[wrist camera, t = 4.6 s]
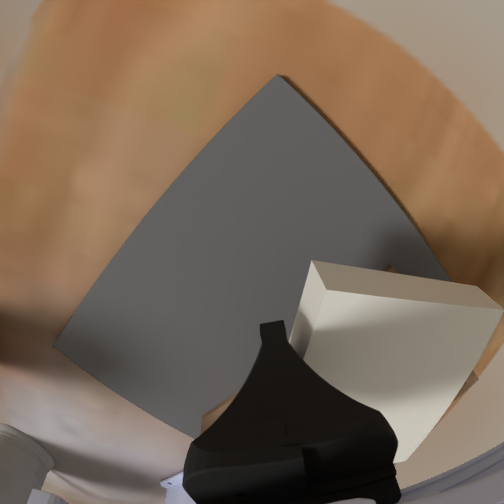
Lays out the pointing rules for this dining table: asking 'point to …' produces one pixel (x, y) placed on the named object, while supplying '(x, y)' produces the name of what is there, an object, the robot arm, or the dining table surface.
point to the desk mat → (235, 258)
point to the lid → (393, 341)
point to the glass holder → (21, 465)
